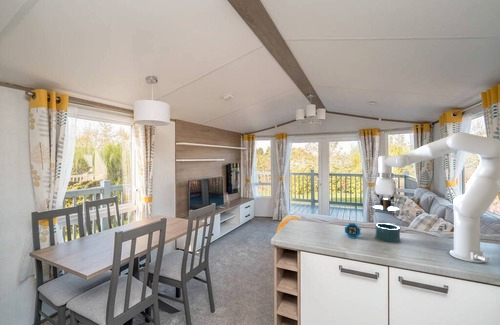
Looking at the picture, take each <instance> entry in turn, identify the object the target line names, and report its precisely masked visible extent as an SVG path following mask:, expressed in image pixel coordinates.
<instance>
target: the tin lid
mask: <svg viewBox="0 0 500 325" xmlns="http://www.w3.org/2000/svg"><path fill="white" fill-rule="evenodd" d="M387 200H388V198H386V197H385V198H384V197H383V206H381V205H373V206H372V209H374V210H376V211H381V212H390V213H391V212H399V211H400V208H398V207H397V206H392V205H391V206H390V207H387Z"/></svg>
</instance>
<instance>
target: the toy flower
mask: <svg viewBox="0 0 500 325" xmlns="http://www.w3.org/2000/svg"><path fill="white" fill-rule="evenodd" d="M361 229H362V228H360V226H358V224H356V223H353V222H349V223H348V224H347V225H345V226H344V233H345V234H346V235H347V236H348V237H349V238H351V239H356V238H358V237H360V235H362V233H361Z"/></svg>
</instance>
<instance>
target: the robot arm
mask: <svg viewBox="0 0 500 325" xmlns="http://www.w3.org/2000/svg"><path fill="white" fill-rule="evenodd" d="M459 151H462V152H466V153H470V154H475V155H477V157H479V165H478V166H477V168H476V170H475V171H474V173H473V174H472V176H471V177H470V179H469V180H468V181H467V183H466V191H465V193H464V194H461V195H458V196H456V197H455V198H454V199H453V203H452V209H453V210H452V211H453V249H451V250H450V251H449V255H450V256H452V257H453V258H454V259H455V258H456V259H458V260H461V261H464V262H469V263H476V264H477V263H478V264H481V263H487V262H489V260H490V258H489V257H488V256H486V255H484V253H483V251H481V217H482V216H483V215H484V214H485V213H486V212H487V211H488V210H489V208H490V207H491V205H492V204H493V202H494V201H495V200H496V198H497V197H498V195H499V193H500V185H499V183H498V181H499V180H500V139H497V138H492V137H488V136H481V135H478V134H472V133H467V132H455V133H453V134H451V135H448V136H446V137H443V138H439V139H437V140H434V141H432V142H428V143H425V144H424V145H422V146H420V147H418V148H416V149H415V148H414V149H412V150H410V151H407V152H405V153H402V154H398V155H397V154H395V155H386V154H385V155H379V156H378V158H377V177H376V180H375V190H374V192H373V195H374V196H376V197H377V198H378V200H379V204H380V206H383V198H384V196H387V199H388V200H387V207H390V206H391V207H392V200H394V199H395V198H398V197H399V194H398V193H397V182H396V179H395V177H396V174H395V173H394V168H397V169H402V168H405V167H408V166H411V165H414V164H417V163H420V162H423V161H429V160H430V161H431V160H434V159H436V158H439V157H442V156H445V155H449V154H452V153H454V152H459Z"/></svg>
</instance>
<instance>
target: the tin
mask: <svg viewBox="0 0 500 325" xmlns="http://www.w3.org/2000/svg"><path fill="white" fill-rule="evenodd" d="M375 238H376V239H377V240H379V241H381V242H385V243H392V244H396V243H400V241H401V239H400V238H401V228H400V226H398V225H395V224H391V223H384V222H383V223H381V222H379V223H376V224H375Z"/></svg>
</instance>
